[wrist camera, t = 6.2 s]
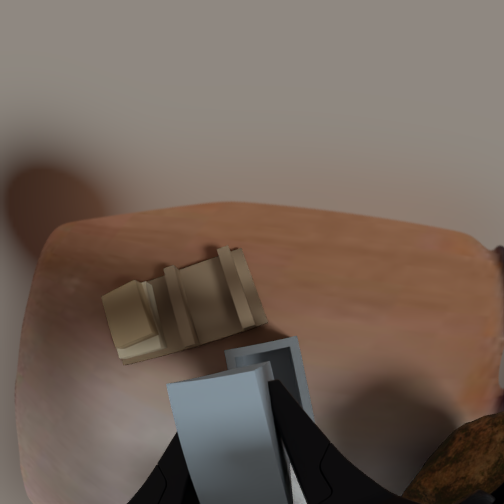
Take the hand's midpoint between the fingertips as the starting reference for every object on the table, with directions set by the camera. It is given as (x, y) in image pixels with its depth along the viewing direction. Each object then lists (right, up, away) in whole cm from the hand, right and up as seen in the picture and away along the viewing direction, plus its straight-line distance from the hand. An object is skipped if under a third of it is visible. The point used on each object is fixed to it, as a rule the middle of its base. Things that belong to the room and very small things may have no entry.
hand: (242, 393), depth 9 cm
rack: (-6, 0, +15) cm, 16 cm away
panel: (+1, -3, +5) cm, 6 cm away
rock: (+20, -16, +7) cm, 26 cm away
